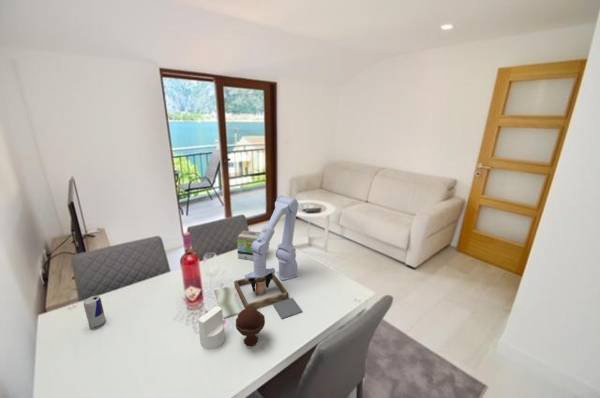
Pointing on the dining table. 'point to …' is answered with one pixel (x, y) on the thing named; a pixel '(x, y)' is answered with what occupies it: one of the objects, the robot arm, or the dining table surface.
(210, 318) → the cylinder with rectangular tab
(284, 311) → the mat
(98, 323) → the energy drink
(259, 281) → the terracotta pot
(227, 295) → the frame
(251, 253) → the tea box
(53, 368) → the dining table surface
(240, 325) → the ice cream bowl
